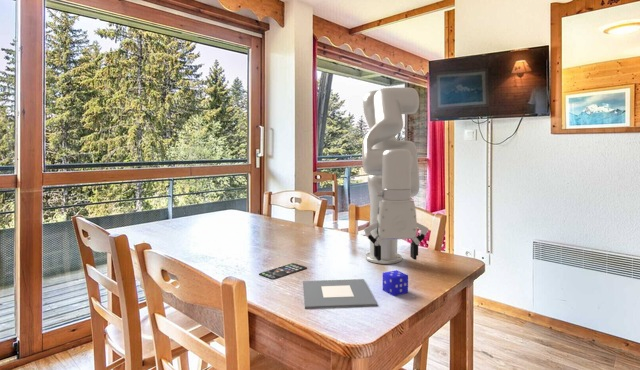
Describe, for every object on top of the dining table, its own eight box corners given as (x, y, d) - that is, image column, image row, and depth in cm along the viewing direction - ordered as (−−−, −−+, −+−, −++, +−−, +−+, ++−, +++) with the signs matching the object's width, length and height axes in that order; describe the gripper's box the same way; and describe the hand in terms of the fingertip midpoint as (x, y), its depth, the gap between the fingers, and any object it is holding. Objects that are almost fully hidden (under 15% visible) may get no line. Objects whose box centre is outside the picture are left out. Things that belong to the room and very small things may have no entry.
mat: (303, 282, 111) (303, 280, 111) (363, 280, 112) (363, 278, 112) (305, 308, 93) (304, 306, 93) (377, 305, 95) (377, 303, 94)
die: (408, 293, 103) (408, 275, 102) (393, 296, 101) (393, 278, 100) (396, 287, 107) (396, 270, 107) (382, 290, 105) (382, 272, 105)
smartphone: (257, 273, 119) (293, 262, 130) (257, 275, 119) (293, 264, 130) (272, 279, 114) (308, 267, 124) (272, 281, 114) (308, 269, 124)
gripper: (367, 197, 97) (366, 263, 98) (433, 196, 98) (432, 261, 99) (361, 194, 104) (361, 256, 105) (423, 194, 105) (422, 254, 107)
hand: (395, 258), depth 102 cm, fingers open, 9 cm apart
